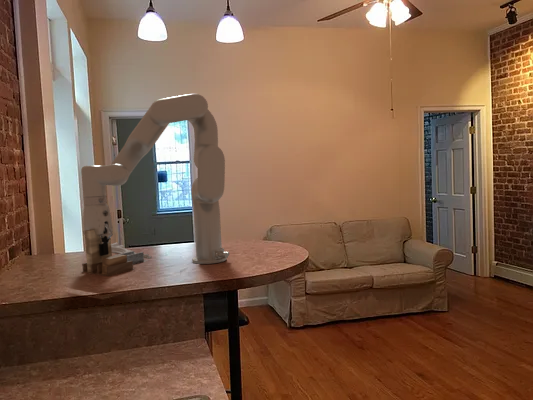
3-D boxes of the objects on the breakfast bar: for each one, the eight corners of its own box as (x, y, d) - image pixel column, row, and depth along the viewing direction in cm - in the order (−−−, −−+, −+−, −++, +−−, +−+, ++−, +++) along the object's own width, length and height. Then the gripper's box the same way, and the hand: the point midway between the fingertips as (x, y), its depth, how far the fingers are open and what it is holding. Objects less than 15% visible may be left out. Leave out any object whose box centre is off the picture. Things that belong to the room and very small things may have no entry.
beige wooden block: (112, 267, 162) (109, 227, 161) (93, 272, 155) (90, 230, 154) (107, 266, 163) (104, 227, 162) (87, 271, 157) (84, 230, 156)
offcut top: (127, 262, 157) (126, 255, 156) (109, 266, 151) (108, 259, 151) (120, 261, 159) (119, 254, 158) (102, 265, 153) (102, 258, 152)
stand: (149, 263, 171) (148, 251, 171) (125, 269, 162) (124, 257, 162) (132, 261, 176) (132, 250, 176) (108, 267, 167) (107, 255, 167)
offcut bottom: (128, 269, 157) (128, 262, 157) (108, 274, 151) (108, 267, 150) (121, 268, 159) (121, 261, 159) (102, 273, 152) (101, 266, 152)
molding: (155, 261, 179) (155, 253, 179) (124, 265, 172) (124, 257, 172) (121, 247, 214) (121, 241, 214) (94, 250, 207) (94, 244, 207)
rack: (135, 272, 158) (134, 260, 157) (108, 279, 148) (108, 267, 148) (107, 268, 166) (106, 257, 166) (80, 275, 157) (79, 263, 156)
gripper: (120, 200, 156) (124, 254, 157) (89, 200, 165) (93, 250, 167) (101, 202, 150) (105, 258, 151) (70, 202, 159) (74, 254, 160)
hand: (99, 253), depth 159 cm, fingers open, 4 cm apart
